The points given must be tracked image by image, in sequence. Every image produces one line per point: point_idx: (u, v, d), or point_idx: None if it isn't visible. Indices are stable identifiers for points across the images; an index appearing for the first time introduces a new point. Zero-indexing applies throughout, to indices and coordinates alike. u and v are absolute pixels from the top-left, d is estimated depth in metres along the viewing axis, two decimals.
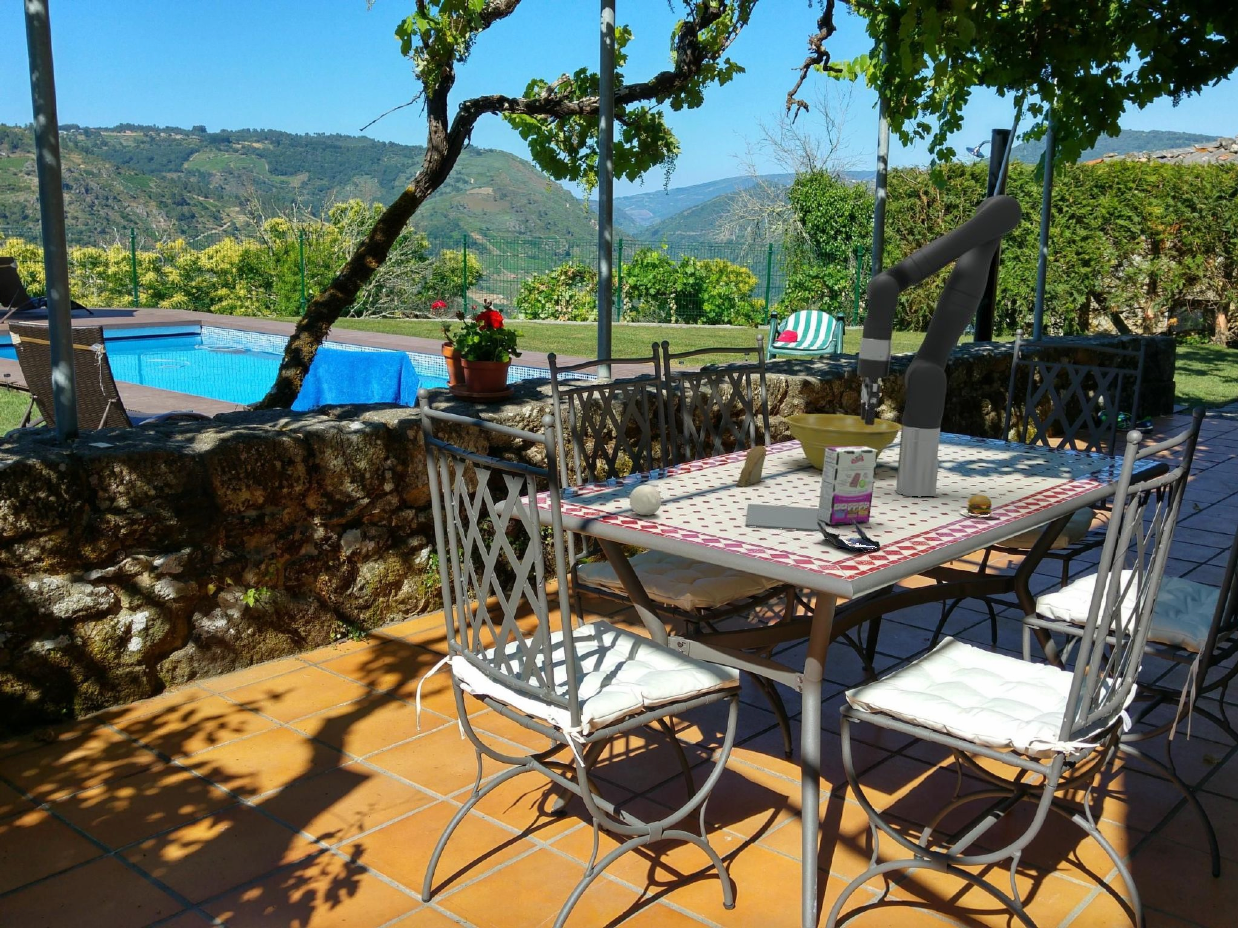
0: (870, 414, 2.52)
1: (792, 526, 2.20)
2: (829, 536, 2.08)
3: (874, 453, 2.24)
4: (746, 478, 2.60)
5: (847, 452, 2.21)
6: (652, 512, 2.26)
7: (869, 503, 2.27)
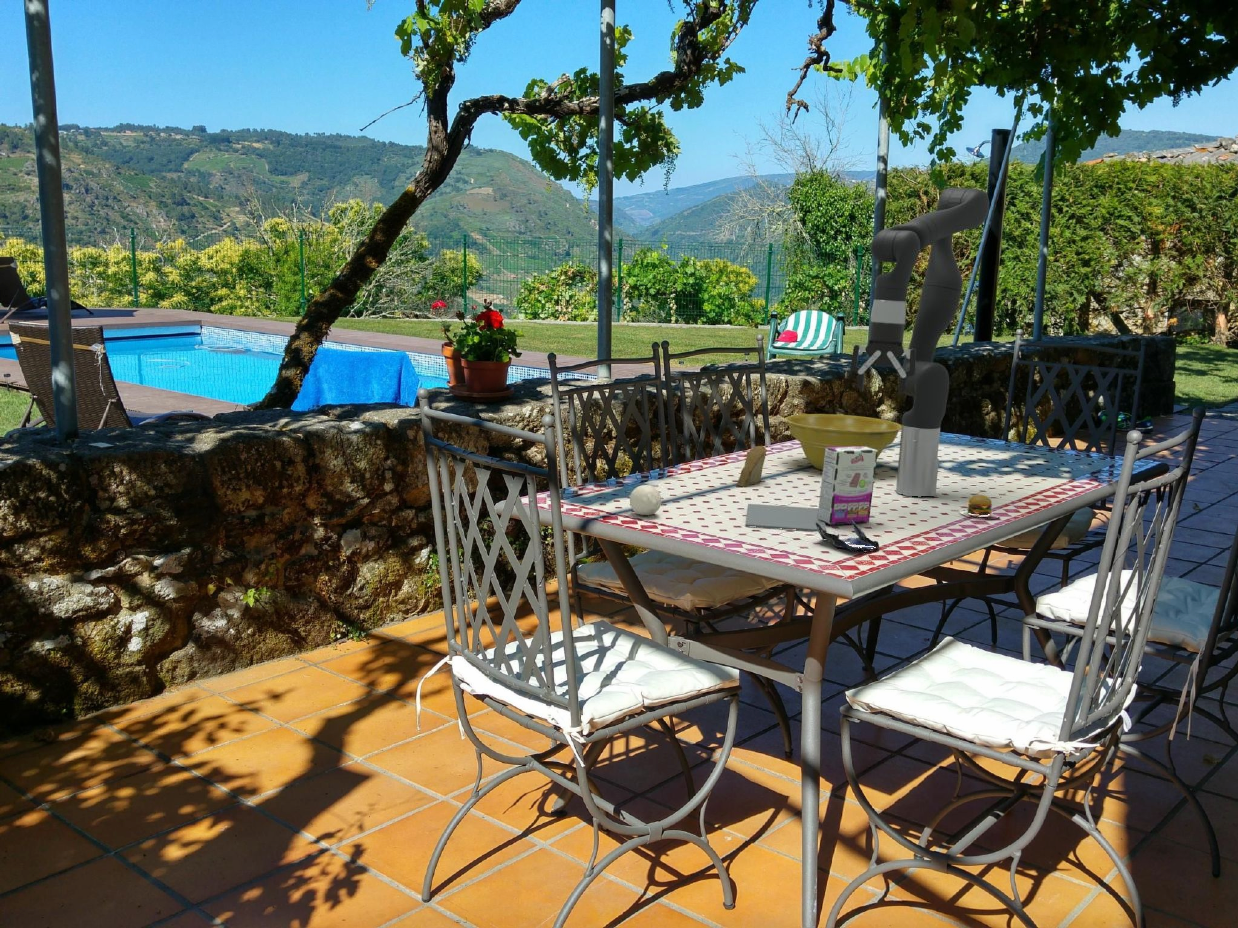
0: None
1: (792, 526, 2.20)
2: (828, 537, 2.07)
3: (874, 453, 2.24)
4: (746, 478, 2.60)
5: (847, 452, 2.21)
6: (652, 512, 2.26)
7: (869, 503, 2.27)
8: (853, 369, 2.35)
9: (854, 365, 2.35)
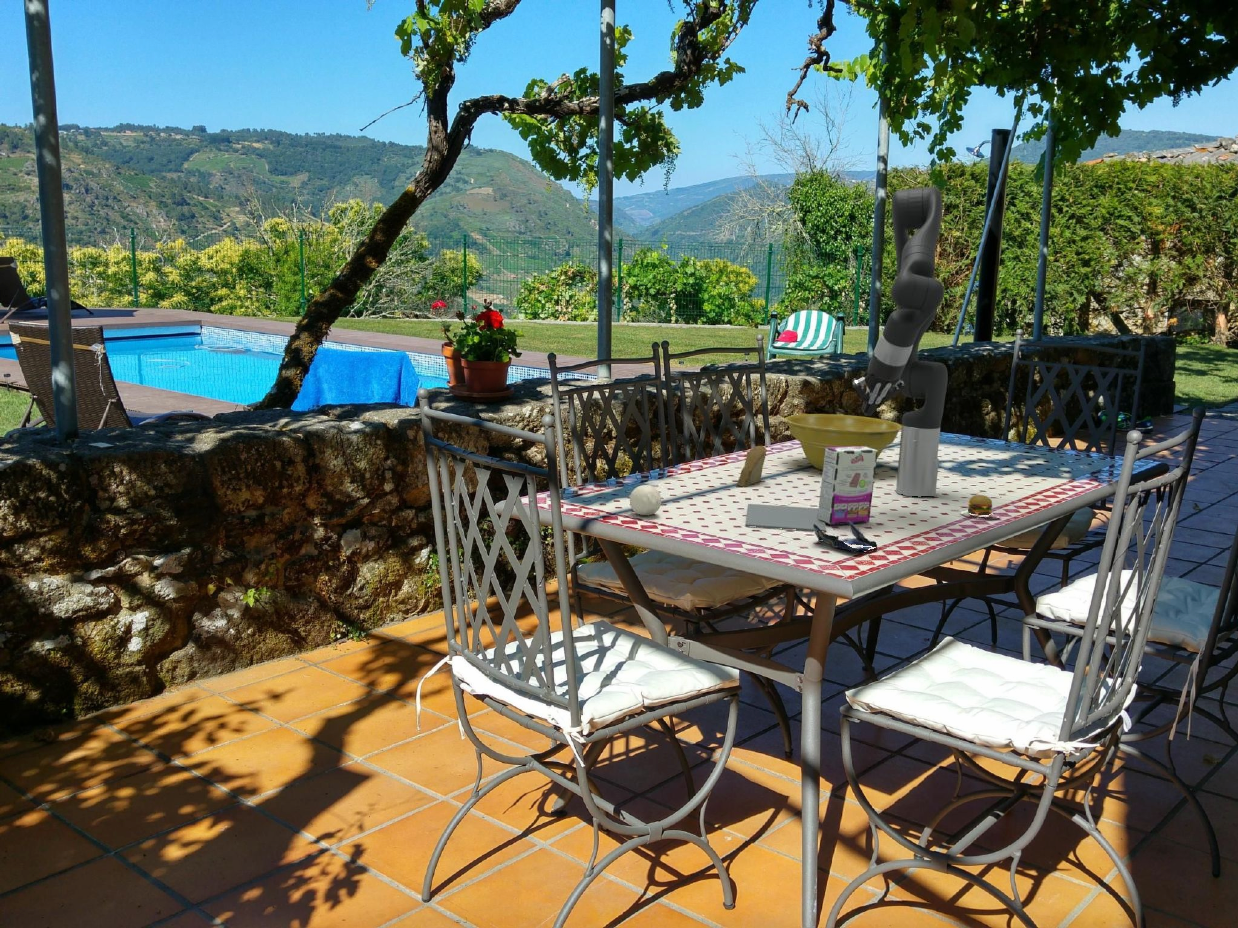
0: None
1: (792, 526, 2.20)
2: (827, 538, 2.06)
3: (874, 453, 2.24)
4: (746, 478, 2.60)
5: (847, 452, 2.21)
6: (652, 512, 2.26)
7: (869, 503, 2.27)
8: (865, 400, 2.35)
9: (864, 397, 2.34)
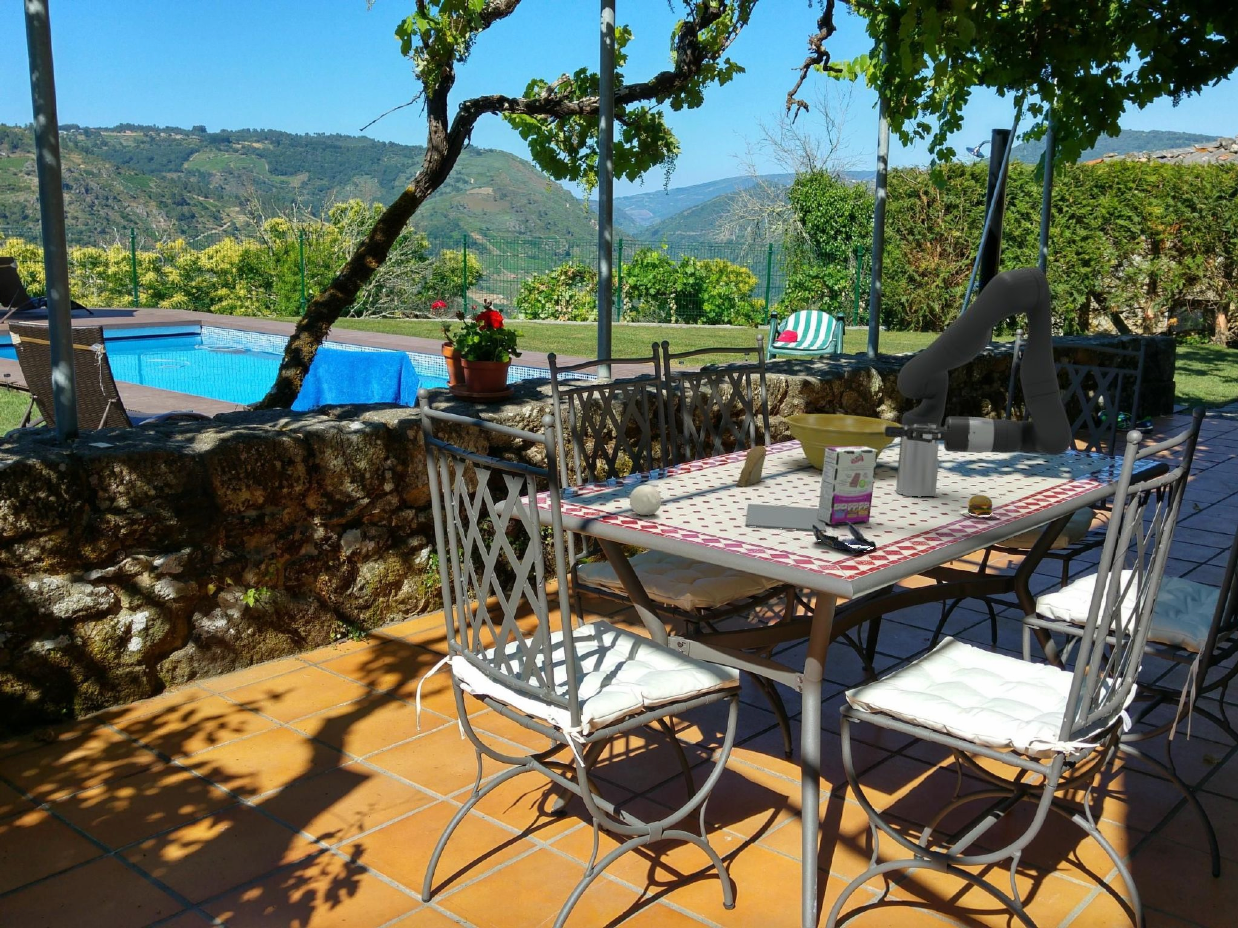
0: None
1: (792, 526, 2.20)
2: (826, 539, 2.06)
3: (874, 453, 2.24)
4: (746, 478, 2.60)
5: (847, 452, 2.21)
6: (652, 512, 2.26)
7: (869, 503, 2.27)
8: None
9: (913, 439, 2.19)
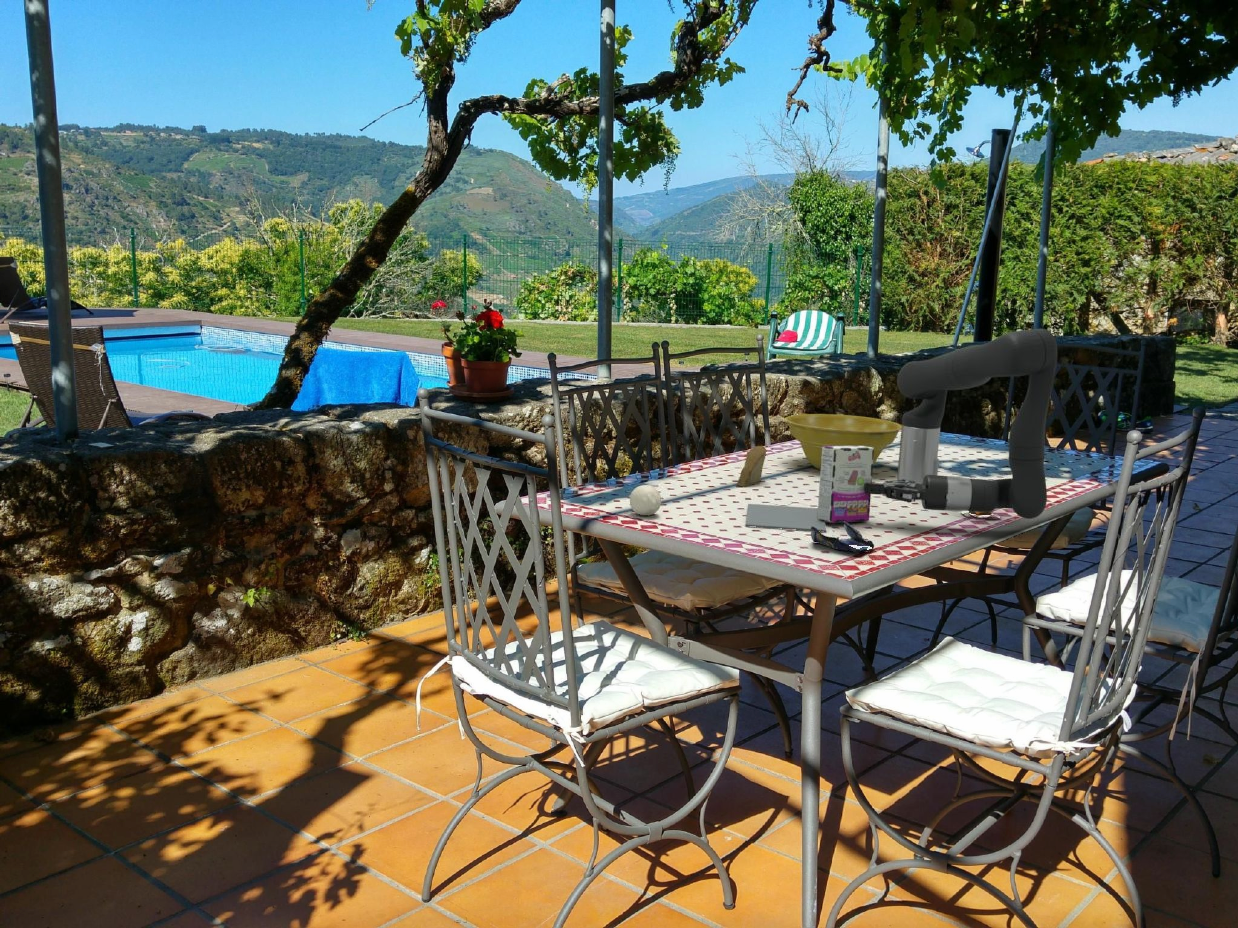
0: None
1: (792, 526, 2.20)
2: (826, 540, 2.04)
3: (870, 450, 2.26)
4: (746, 478, 2.60)
5: (844, 449, 2.22)
6: (652, 512, 2.26)
7: (868, 501, 2.27)
8: None
9: None
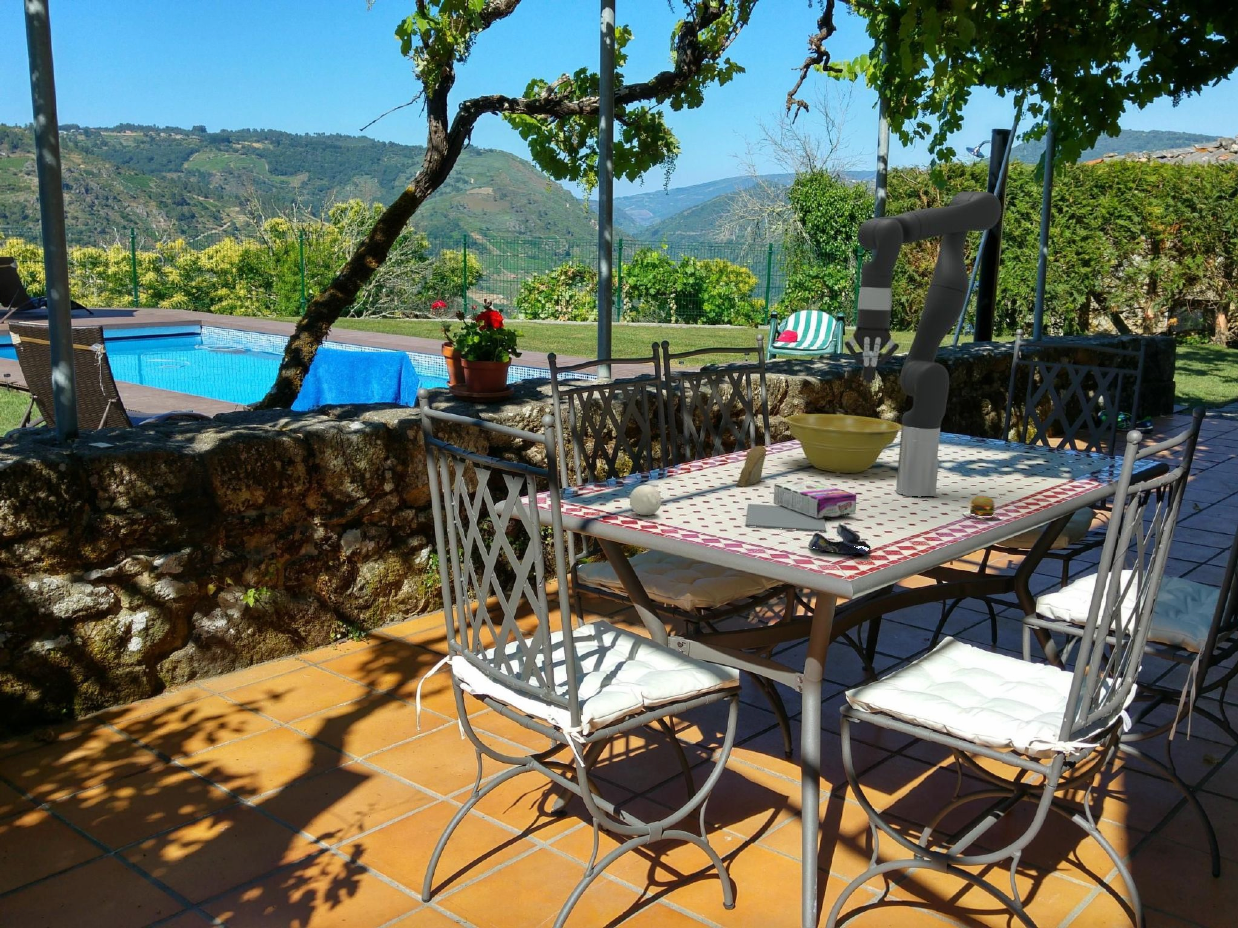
0: None
1: (792, 526, 2.20)
2: (831, 545, 2.01)
3: (809, 481, 2.44)
4: (746, 478, 2.60)
5: (783, 483, 2.41)
6: (652, 512, 2.26)
7: (842, 490, 2.34)
8: (859, 361, 2.40)
9: (858, 357, 2.40)
